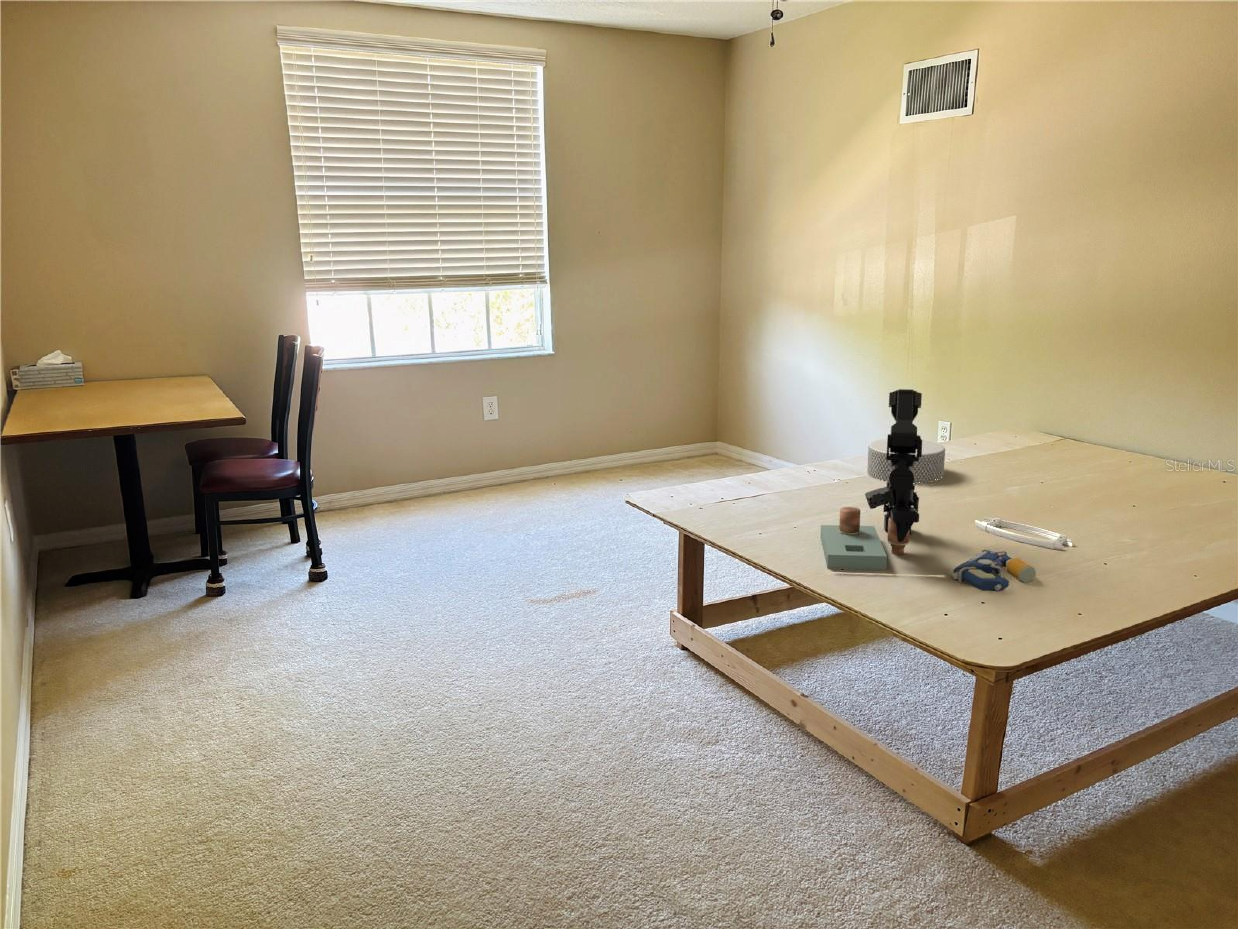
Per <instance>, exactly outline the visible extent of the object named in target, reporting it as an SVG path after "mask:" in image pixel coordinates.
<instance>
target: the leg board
mask: <svg viewBox="0 0 1238 929" xmlns="http://www.w3.org/2000/svg"><path fill="white" fill-rule="evenodd" d="M820 542H821V546H822V551H823V555H824V560H825V563H826V568H827V569H836V570H837V569H839V570H840V569H841V570H842V569H843V570H873V571H875V570H877V571H880V570H881V571H887V563H888V562H887V561H888V558H887V557H888V555H887V553H886V551H885V548H884V546H883V543H882V541H881V539H880V536H879V534H878V532H877V529H876V527H875V525H860V532H859V533H858V534H855V535H847V534H842V533H840V532H839V524H837V525H836V524H835V525H834V524H820Z"/></svg>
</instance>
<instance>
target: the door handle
mask: <svg viewBox="0 0 1238 929" xmlns="http://www.w3.org/2000/svg"><path fill="white" fill-rule="evenodd" d="M974 525H975V527H976V528H978V529H979V528H980V530H981V531H984V532H987V533H989V534H993V535H995V536H998V537H1002V538H1005V539H1007V540H1011V541H1015V542H1019V543H1023V544H1028V545H1032V546H1038V547H1040V548H1041V547H1042V548H1045V549H1050V550H1058V551H1059V550H1060V551H1065V546H1069V547H1074V542H1073V540H1072V539H1071V538H1070V537H1068V536H1067V535H1065V534H1063V533H1057V532H1053V531H1050V530H1047V529H1044V528H1040V527H1038V526H1037V527H1036V526H1033V525H1028V524H1023V523H1020V522H1015V521H1014V522H1013V521H1010V520H1003V519H1002V518H999V517H991V518H990V517H983V521H980V520H977V519H976V520H975V521H974ZM999 526H1001V528H1005V527H1009V528H1008V529H1010V528H1013V529H1012V530H1015V529H1016V530H1015V531H1021V532H1024V531H1025V532H1026V533H1028V534H1029V533H1030V534H1033V535H1036V536H1040V537H1044V538H1047V539H1044V538H1038V537H1033V536H1029V535H1023V534H1019V533H1016V532H1011V531H1008V530H1004V529H1000V528H999ZM1064 545H1065V546H1064Z"/></svg>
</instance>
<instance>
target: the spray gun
mask: <svg viewBox="0 0 1238 929" xmlns="http://www.w3.org/2000/svg"><path fill="white" fill-rule="evenodd" d="M1003 568H1005V569H1006V573H1008V574H1009V575H1011V576H1012V577H1014V578H1015V579H1016V580H1018V581H1019V582H1023V583H1029V582H1032V581H1033V580H1034V579H1035V578H1036V574H1037V573H1036V569H1035V568H1034V567H1033V566H1032V565H1030V564H1028V563H1027V562H1025V561H1023V560H1022V559H1020V558H1018V557H1014V558H1012V557H1011V556H1009V555H1008V552H1006V550H1001V551H999V550H997V551H995V550H991V549H987V548H983V549H982V550H981V552H979V553H978V554H976V555H975V556H974V555H973V557H971V558H969V559H968V560H966V561H965V562H963V563H961V564H959V565H958V566H956V567H955V568H954V569H953V574H952V578H953V579H954V580H957V579H958V582H959V583H960V582H962V583H963V582H965V583H967V584H969V585H970V586H973V587H974V588H976V589H978V590H980V591H983V592H986V591H987V592H1002V591H1004V590H1005V589H1007V588H1008V587H1009V585H1010V580H1009V579H1008V578H1006V577H1002V576H1003Z"/></svg>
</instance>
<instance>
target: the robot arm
mask: <svg viewBox="0 0 1238 929" xmlns="http://www.w3.org/2000/svg"><path fill="white" fill-rule="evenodd" d="M888 394H889V395H888V408H891V410H890V412H891V416H892V418H893V420H894V421H895V423H893V425H891V426H890V434H889V433H887V438H886V439H887V456H886V460H891V461H890V474H889V481H886V486H884V487H880V488H875V489H873V490H870V491H867V492H865V493H864V496H865V498H866V501H867V505H868V507H869V509H871V510H875V509H876V508H877V507H881V506H883V513H885V514H884V516H883V517H884V520H883V529H884V531H885V532H886V533H887V534H888V520H889V518H890V519H891V520H892V521H893V522H894V523H895V525H896V533H897V540H898V542H903V540H904V538H905V536H906V535H907V533H908V531H909V530H910V531H909V536H913V532H912V527H913V525H914V523H915V524H917V523H919V522H920V514H919V506H920V505H919V502H920V497H919V496H918V494H917V492H916V491H915V487H916V486H915V484H913V483H914V461H919V457H922V440H923V439H922V436H921V435H918V426H917V425H916V424H914V423H913V422H914V421H915V419H916V418H917V416H918V413H919V409H921V408H922V401H923V398H922V397H923V394H922V392H918V391H916V390H914V389H905V388H904V389H903V388H899V389H895V390H894V391H890V392H889V393H888ZM889 448H890V452H891V454H890V455H889ZM916 449H917V457H915V453H916Z"/></svg>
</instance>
